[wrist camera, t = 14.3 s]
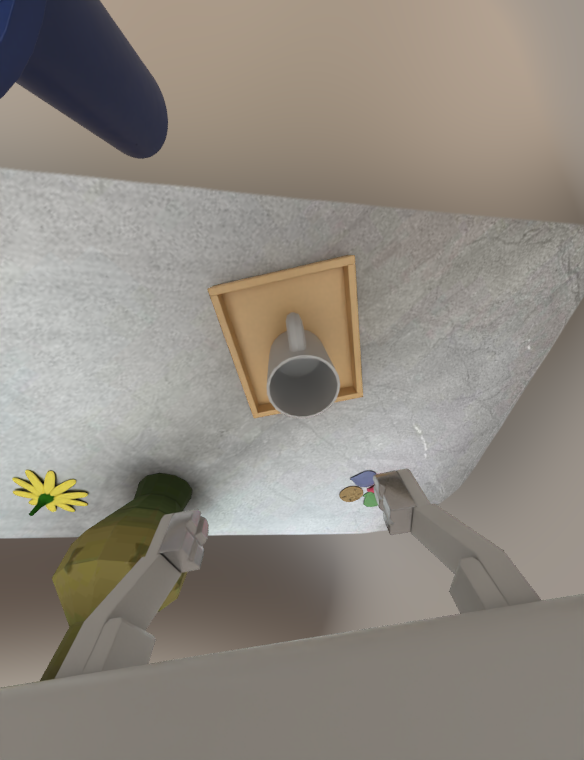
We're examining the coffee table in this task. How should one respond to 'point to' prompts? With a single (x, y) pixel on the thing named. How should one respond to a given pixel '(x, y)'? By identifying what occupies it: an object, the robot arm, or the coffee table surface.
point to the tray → (268, 320)
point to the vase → (113, 554)
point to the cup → (300, 373)
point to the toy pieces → (362, 481)
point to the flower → (49, 493)
